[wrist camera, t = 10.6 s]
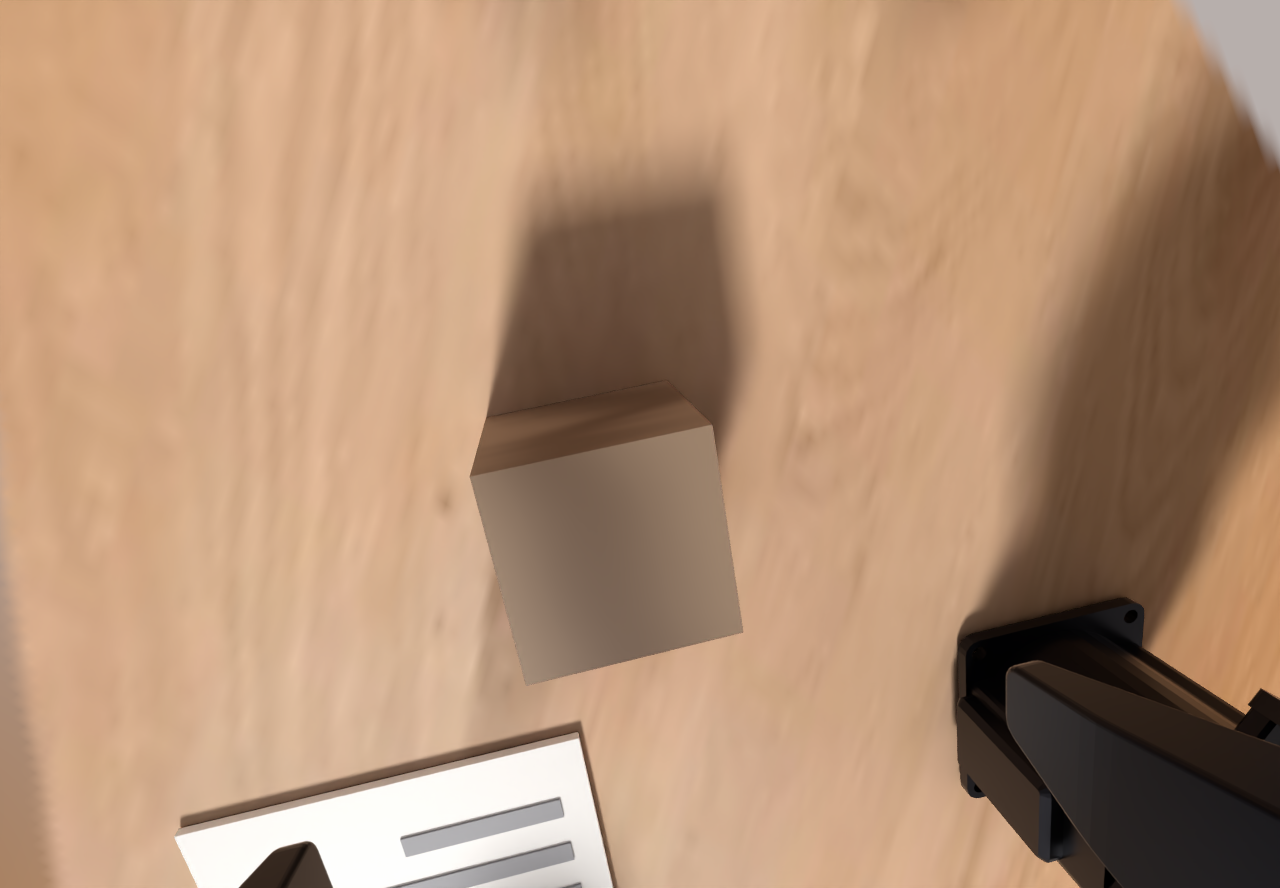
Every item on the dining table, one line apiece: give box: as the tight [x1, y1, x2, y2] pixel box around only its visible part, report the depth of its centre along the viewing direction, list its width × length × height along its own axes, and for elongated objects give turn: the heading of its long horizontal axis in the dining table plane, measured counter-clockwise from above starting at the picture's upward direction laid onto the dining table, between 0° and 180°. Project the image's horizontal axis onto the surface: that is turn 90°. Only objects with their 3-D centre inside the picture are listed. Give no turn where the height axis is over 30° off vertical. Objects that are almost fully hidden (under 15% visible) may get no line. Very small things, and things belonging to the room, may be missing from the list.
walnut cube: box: [470, 380, 743, 686], centre depth 17 cm, size 5×5×5 cm
